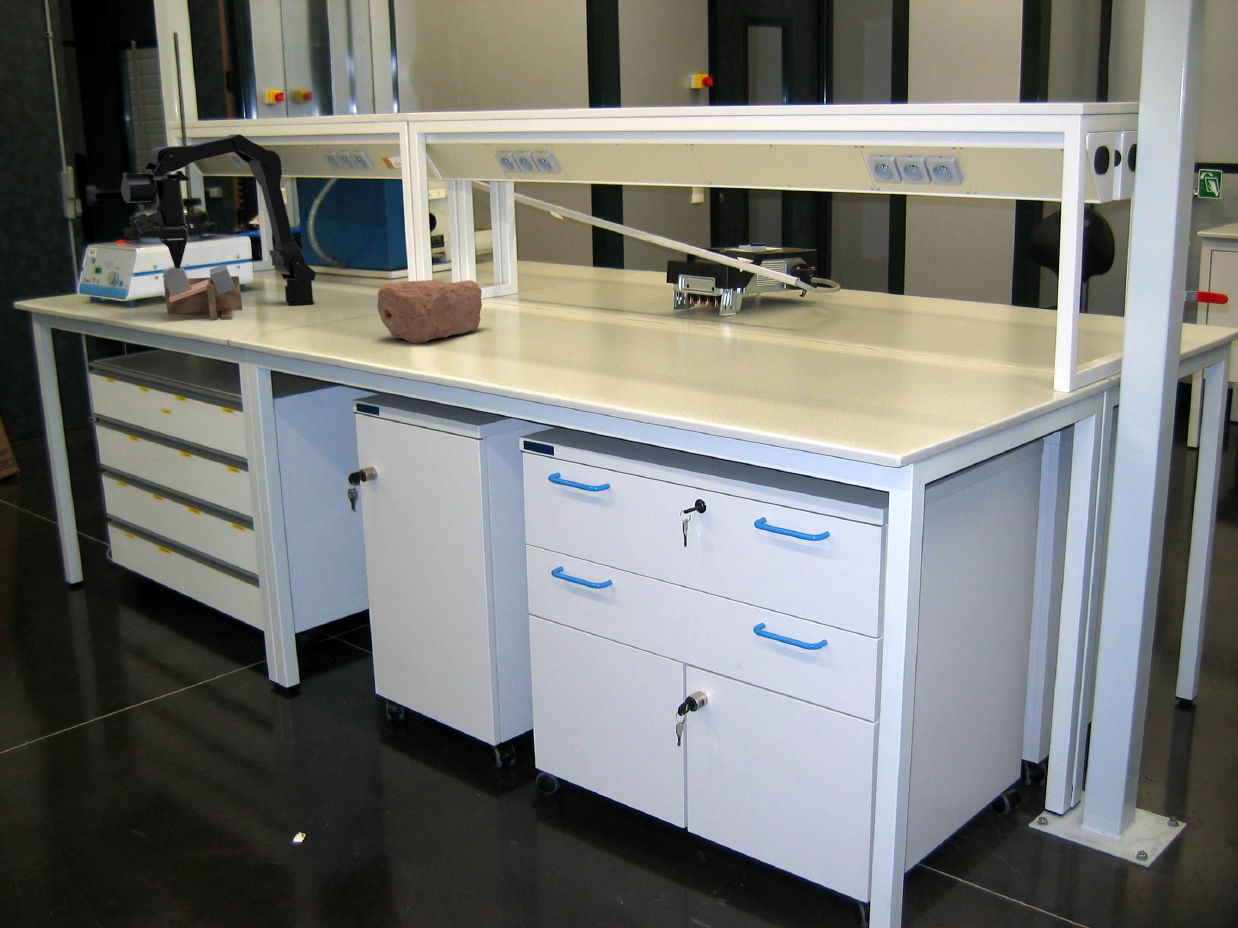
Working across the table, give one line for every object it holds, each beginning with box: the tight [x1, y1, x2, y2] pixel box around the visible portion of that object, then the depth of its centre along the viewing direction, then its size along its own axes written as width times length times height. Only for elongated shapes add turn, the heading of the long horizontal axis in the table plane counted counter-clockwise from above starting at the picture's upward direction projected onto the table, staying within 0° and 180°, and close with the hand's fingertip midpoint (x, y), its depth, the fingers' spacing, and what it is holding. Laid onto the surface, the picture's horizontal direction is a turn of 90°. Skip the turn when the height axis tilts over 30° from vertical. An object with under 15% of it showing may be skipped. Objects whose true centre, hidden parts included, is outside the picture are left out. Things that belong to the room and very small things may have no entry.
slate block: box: [161, 266, 192, 296], centre depth 277 cm, size 5×5×6 cm
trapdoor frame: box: [163, 275, 243, 321], centre depth 280 cm, size 18×17×8 cm
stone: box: [377, 279, 483, 344], centre depth 248 cm, size 16×26×15 cm, turn 143°
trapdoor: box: [169, 263, 235, 302], centre depth 280 cm, size 15×14×5 cm
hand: (178, 266), depth 277 cm, fingers open, 9 cm apart
